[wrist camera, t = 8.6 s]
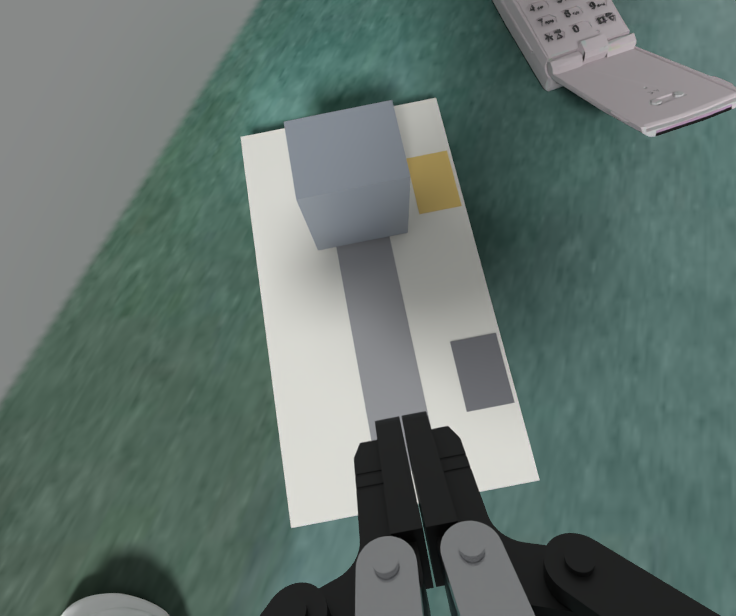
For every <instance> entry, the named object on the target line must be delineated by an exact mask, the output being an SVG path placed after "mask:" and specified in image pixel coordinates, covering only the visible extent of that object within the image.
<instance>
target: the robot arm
mask: <svg viewBox="0 0 736 616" xmlns="http://www.w3.org/2000/svg"><path fill="white" fill-rule="evenodd" d="M401 417H402V422H403V428H404V433H405V439H406V444H407V449H408V455H409V460H410V465H411V470H412V475H413V479H414V484H415V489H416V494H417V498H418V503H419V508H420V512H421V517H422V522H423V527H424V531H425V536H426V541H427V545H428V550H429V555H430V560H431V564H432V569H433V574H434V579H435V583H436V587H438V586H444V585H445V589H446V594H447V598H448V603H449V607H450V613H451V616H720V615H718V614H717V613H715V612H713V611H712V610H710V609H708V608H707V607H705V606H703V605H702V604H700V603H698V602H697V601H695V600H693V599H692V598H690V597H688V596H687V595H685V594H683V593H682V592H680V591H678V590H677V589H675V588H673V587H672V586H670V585H668V584H667V583H665V582H663V581H662V580H660V579H658V578H657V577H655V576H653V575H652V574H650V573H648V572H647V571H645V570H643V569H642V568H640V567H638V566H637V565H635V564H633V563H632V562H630V561H628V560H627V559H625V558H623V557H622V556H620V555H618V554H617V553H615V552H614V551H612V550H610V549H609V548H607V547H605V546H604V545H602V544H600V543H599V542H597V541H595V540H593V539H591V538H590V537H587V536H584V535H581V534H576V533H566V534H561V535H558V536H556V537H554V538H553V539H552V540H551V541H550V542H549V543H548V544H547V546H546V545H539V544H531V543H524V542H519V541H516V540H513V539H511V538H509V537H507V536H505V535H504V534H502V533H501V532H500V531H498V530H497V529H496V528H495V527H494V525H493V524H492V523H491V521H490V519H489V517H488V515H487V512H486V509H485V506H484V503H483V501H482V498H481V495H480V492H479V489H478V486H477V484H476V481H475V478H474V475H473V472H472V470H471V468H470V464H469V461H468V458H467V456H466V453H465V450H464V447H463V444H462V441H461V439H460V437H459V436H458V435H457V434H456V433H455V432H454V431H453V430H452V429H451V428H450V427H449V426H445V427H439V428H434V429H431V426H430V423H429V419H428V416H427V412H426V411H423V412H418V413H412V414H407V415H402V416H401ZM375 427H376V434H377V440H372V441H367V442H362V443H360V444H359V446H358V449H357V451H356V454H355V456H354V468H355V482H356V495H357V508H358V521H359V534H360V547H359V552H358V555H357V557H356V559H355V561H354V563H353V564H352V566H351V567H350V568H349V569H348V570H347V571H346V572H345V573H344V574H343V575H342V576H340V577H338V578H337V579H335V580H333V581H332V582H330V583H328V584H326V585H324V586H323V587H321V588H319V589H318V588H317V587H316V586H314V585H312V584H309V583H295V584H292V585H289V586H287V587H285V588H284V589H282V590H281V591H279V592H278V593H277V594H276V595H275V596H274V597H273V599H272V600H271V601H270V603H269V604H268V605H267V607H266V608H265V609H264V611H263V612H262V613H261V615H260V616H431V614H430V608H429V603H428V598H427V592H426V589H429V588H434V587H433V582H432V576H431V571H430V565H429V560H428V554H427V549H426V543H425V538H424V533H423V527H422V522H421V518H420V513H419V508H418V503H417V499H416V494H415V489H414V484H413V480H412V475H411V470H410V465H409V460H408V456H407V451H406V446H405V441H404V437H403V432H402V427H401V422H400V418H399V416H397V417H392V418H387V419H382V420H377V421H375Z"/></svg>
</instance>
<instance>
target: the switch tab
mask: <svg viewBox="0 0 736 616" xmlns="http://www.w3.org/2000/svg"><path fill="white" fill-rule="evenodd" d="M284 127H285V133H286V139H287V146H288V152H289V158H290V164H291V171H292V177H293V183H294V189H295V195H296V200H297V203H298V205H299V207H300V210H301V212H302V214H303V217H304V219H305V221H306V224H307V226H308V228H309V231H310V233H311V235H312V238H313V240H314V242H315V245H316V247H317V249H318V250H323V249H328V248H333V247H338V246H343V245H348V244H353V243H358V242H363V241H368V240H373V239H378V238H384V237H389V236H394V235H399V234H404V233H408V219H409V198H410V172H409V168H408V164H407V160H406V156H405V152H404V147H403V143H402V139H401V135H400V131H399V127H398V122H397V118H396V114H395V110H394V106H393V102H392V100H389V101H384V102H379V103H374V104H369V105H364V106H359V107H354V108H349V109H344V110H339V111H334V112H329V113H324V114H319V115H314V116H309V117H305V118H300V119H295V120H290V121H285V122H284Z"/></svg>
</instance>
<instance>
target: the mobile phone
mask: <svg viewBox="0 0 736 616" xmlns="http://www.w3.org/2000/svg"><path fill="white" fill-rule="evenodd" d="M492 1H493V3H494V4H495V6H496V8H497V10H498V12H499V13H500V15H501V17H502V19H503V21H504V22H505V24H506V26H507V28H508V29H509V31H510V33H511V34H512V36H513V38H514V40H515V41H516V43H517V45H518V46H519V48H520V50H521V51H522V53H523V55H524V56H525V58H526V60H527V61H528V63H529V65H530V66H531V68H532V70H533V72H534V73H535V75H536V77H537V78H538V80H539V82H540V83H541V85H542V87H543V88H544V89H545V90H546V91H551V90H554V89H557V88H559V87H562V86H564V87H565V88H567V89H569V90H570V91H572V92H573V93H575V94H577V95H578V96H580V97H581V98H583V99H584V100H586V101H588V102H589V103H591V104H592V105H594V106H595V107H597V108H599V109H600V110H602V111H603V112H605V113H607V114H609V115H610V116H612V117H614V118H616V119H618V120H620V121H621V122H623V123H625V124H627V125H629V126H631V127H632V128H634V129H636V130H638V131H640V132H641V133H643V134H645V135H647V136H649V137H653V136H658V135H661V134H664V133H667V132H670V131H673V130H676V129H679V128H682V127H685V126H688V125H691V124H694V123H697V122H700V121H703V120H706V119H708V118H711V117H713V116H716V115H718V114H721V113H723V112H726V111H728V110H731V109H733V108H735V107H736V87H734V86H733V84H732V83H730V82H727V81H725V80H723V79H720V78H718V77H715V76H712V77H711V76H709V75H706V74H704V73H701V72H699V71H696V70H694V69H691V68H689V67H686V66H684V65H681V64H679V63H676V62H674V61H671V60H669V59H666V58H663V57H661V56H658V55H656V54H653V53H651V52H648V51H646V50H643V49H641V48H638V47H636V46H635V44H636V38H635V35H634V33H630V34H629V32H630V31H629V29H628V28H627V26H626V24H625V23H624V21H623V19H622V18H621V16H620V14H619V13H618V11H617V9H616V7H615V6H614V4H613V2H612V0H492Z"/></svg>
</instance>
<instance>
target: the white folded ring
mask: <svg viewBox="0 0 736 616" xmlns="http://www.w3.org/2000/svg"><path fill="white" fill-rule="evenodd" d="M61 616H169V615H168V613H167V612H166V611H165V610H164V609H162V608H160V607H159V606H157V605H156V604H153V603H151V602H149V601H147V600H144V599H141V598H138V597H135V596H131V595H126V594H120V593H105V594H97V595H92V596H88V597H85V598H83V599H80V600H78V601H76V602H75V603H73V604H72V605H70V606H69V607H68V608H67V609H66V610H65V611H64V612H63V614H62V615H61Z"/></svg>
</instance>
